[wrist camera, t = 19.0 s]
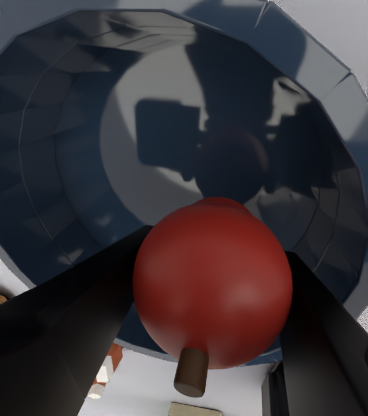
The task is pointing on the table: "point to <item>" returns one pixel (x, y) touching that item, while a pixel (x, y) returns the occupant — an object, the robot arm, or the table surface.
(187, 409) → the toy refrigerator
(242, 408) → the table surface
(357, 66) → the table surface
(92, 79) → the bowl
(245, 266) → the apple
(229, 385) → the table surface
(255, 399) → the table surface
